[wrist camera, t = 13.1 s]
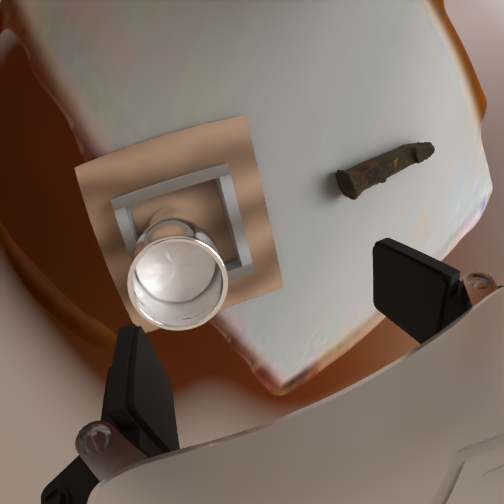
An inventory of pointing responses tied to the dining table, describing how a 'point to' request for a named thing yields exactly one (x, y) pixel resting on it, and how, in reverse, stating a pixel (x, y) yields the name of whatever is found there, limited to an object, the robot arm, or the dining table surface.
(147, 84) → the dining table surface
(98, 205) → the glass dock
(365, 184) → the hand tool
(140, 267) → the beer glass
